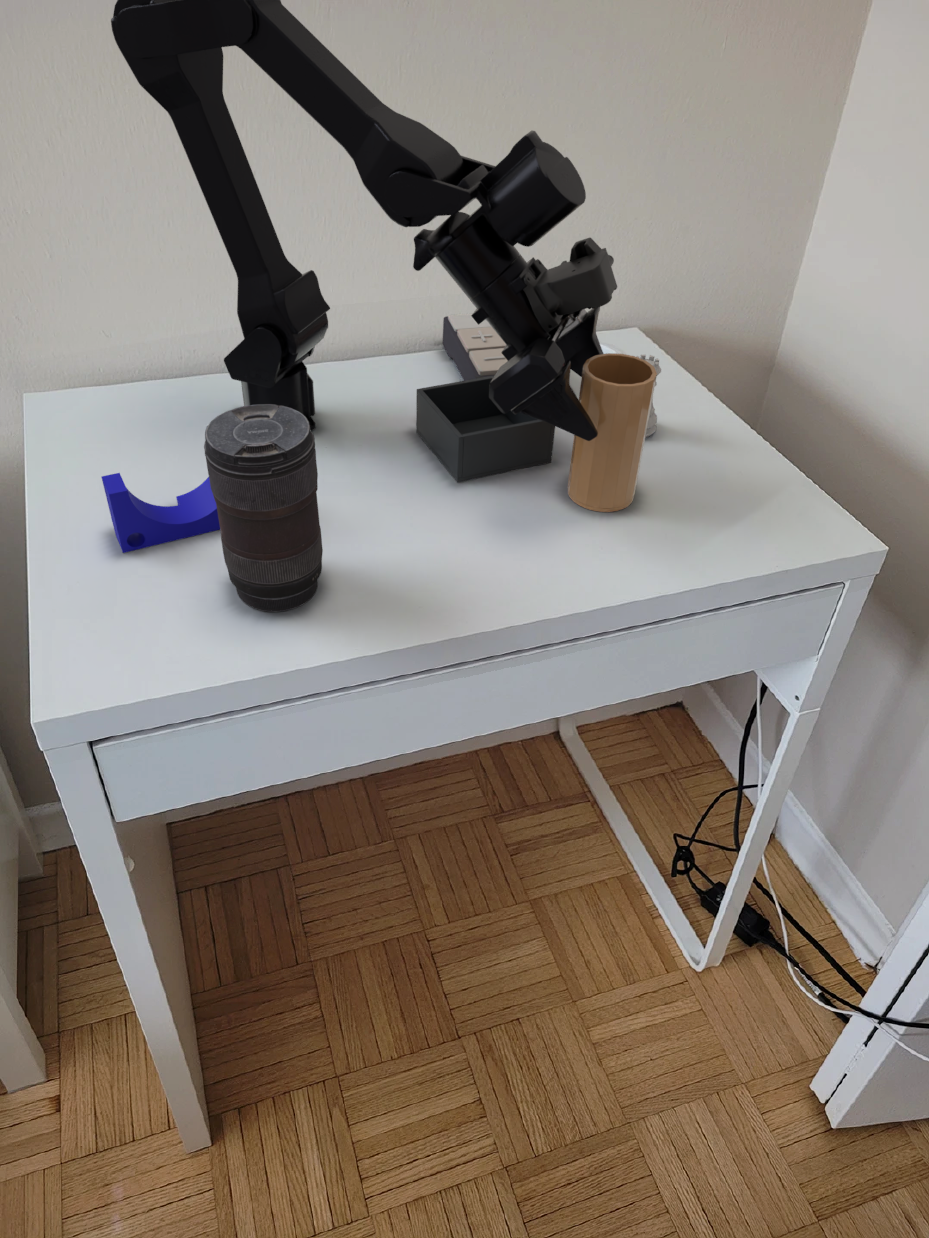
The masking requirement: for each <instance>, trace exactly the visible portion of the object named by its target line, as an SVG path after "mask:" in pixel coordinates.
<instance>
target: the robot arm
mask: <svg viewBox="0 0 929 1238" xmlns="http://www.w3.org/2000/svg"><path fill="white" fill-rule="evenodd" d="M110 26H111V32H112V36H113V39H114V41H115V43H116V46H117V48H118V50H119V51H120V53H121V55H122V57H123V59H124V60H125V62H126V63H127V65H128V68H129V69H130V71H131V72H132V74H133V76H134V78H135V79H136V81H137V84H138V85H140V87H141V88H142V89H143V90H144V91H146V93H148V95H149V96H151V97H152V99H153V100H155V101H156V102H157V104H159V105H160V107H162V108H163V109H164V110H165V111H166V112H167V114H168V116H169V117H170V119H171V121H172V123H173V126H174V128H175V130H176V133H177V136H178V138H179V140H180V143H181V145H182V148H183V150H184V152H185V154H186V157H187V159H188V162H189V164H190V166H191V169H192V171H193V174H194V175H195V178H196V181H197V184H198V186H199V188H200V190H201V193H202V195H203V199H204V200H205V202H206V206H207V207H208V210H209V212H210V214H211V217H212V219H213V221H214V224H215V227H216V229H217V231H218V233H219V236H220V238H221V241H222V243H223V246H224V248H225V250H226V252H227V255H228V257H229V260H230V262H231V265H232V267H233V270H234V272H235V275H236V278H237V299H236V300H237V302H236V315H237V318H238V322H239V325H240V330H241V332H242V336H243V340H241V342H239V343H238V344H237V345H236V347H234V348H232V350H231V351H229V353H228V354H227V355H226V356H225V357H224V358H223V363H224V365H225V367H226V369H227V371H228V374H229V376H230V378H231V380H234V381H239V382H240V386H241V392H242V401H243V406H249V405H258V404H275V405H278V406H285V407H289V408H292V409H294V410H296V411H299V412H300V413H302V414H303V415H304V416H305V417H306V418H307V420H308V422H309V424H310V429H311V431H313V430H316V429H317V423H316V422H315V419H313V417H314V416H315V415H316V406H315V391H314V380H313V379H312V377H311V376H310V375H309V373H308V368H307V366H306V364H305V363H304V362H303V361H305V360H306V359H307V358H308V357H311V356H312V355H313V354H314V351H315V347H316V346H317V345H318V344H319V343H321V341H322V340H323V339H324V338H325V336H326V333H327V331H328V329H329V319H328V314H327V313H328V312H329V311H330V310H331V307H330V305H329V304H328V303H327V301H326V300H325V298H324V296H323V293H322V291H321V288H320V283H319V279H318V276H317V274H316V273H315V271H314V270H312V269H309V270H308V271H306V272H304V273H301V271H299V270H298V269H297V267H296V266H294V265H293V263H291V262H290V261H289V259H288V258H287V257H286V254H285V252H284V250H283V247H282V245H281V242H280V240H279V237H278V235H277V232H276V230H275V227H274V224H273V222H272V219H271V217H270V213H269V211H268V209H267V205H266V204H265V201H264V198H263V196H262V193H261V191H260V188H259V186H258V183H257V181H256V178H255V174H254V173H253V170H252V168H251V165H250V162H249V160H248V157H247V155H246V152H245V149H244V147H243V144H242V142H241V140H240V137H239V134H238V131H237V128H236V125H235V123H234V121H233V118H232V116H231V113H230V110H229V108H228V105H227V103H226V101H225V96H224V91H223V90H224V52H223V48H226V47H227V48H228V47H237V48H239V49H240V50H241V51H242V52H243V53H244V54H245V55H247V56H248V57H249V58H250V59H251V60H252V61H253V62H254V63H255V64H256V65H257V67H259V68H260V69H261V70H262V71H263V72H264V73H265V74H266V75H267V76H269V78H270V79H271V80H273V82H275V84H277V85H278V86H279V87H280V88H281V89H282V90H283V91H284V92H285V93H286V94H287V95H288V96H289V97H290V98H291V99H292V100H293V101H294V102H295V103H296V104H297V105H299V106H300V107H301V108H302V109H303V110H304V112H306V113H307V114H308V115H309V116H310V117H311V118H312V119H313V120H314V121H315V122H316V123H317V124H318V125H319V126H321V128H322V129H323V130H324V131H326V133H328V134H329V136H331V138H333V139H334V140H335V141H336V142H337V143H338V144H339V145H340V146H341V147H342V148H343V149H344V151H346V153H347V154H348V155H349V157H350V158H351V160H352V161H353V163H354V165H355V169H356V170H357V173H358V175H359V177H360V180H361V182H362V185H363V187H365V189H366V190H367V191H368V193H369V194H370V195H371V197H372V198H373V199H374V201H376V203H377V204H378V205H379V207H380V208H381V209H382V211H383V212H384V213H385V214H386V216H387V217H388V218H389V219H390V220H391V221H392V222H394V223H395V224H397V225H399V226H401V227H404V228H413V227H414V228H415V227H416V228H419V227H423V226H424V225H427V224H430V223H431V222H432V221H433V220H435V219H436V218H437V217H443V216H448V217H447V218H446V219H445V220H444V221H443V222H442V223H441V224H440V225H438V227H436V229H433V230H432V229H427V228H422V229H421V230H420V231H419V232H418V233H417V234H416V235H415V236H414V237H413V243H414V255H413V264H412V265H413V266H412V267H413V270H414V271H416V272H419V271H421V270H423V268H425V267H426V266H427V265H428V264H429V263H430V262H431V261H433V259H436V260H437V261H438V263H439V264H440V265H441V266H442V267H443V269H444V270H445V271H446V272H447V274H448V275H449V277H451V279H452V280H453V281H454V282H455V283H456V284H457V286H458V287H459V288H460V290H461V291H462V292H463V294H464V295H466V297H467V298H468V300H469V301H470V302H471V303H472V304H473V306H474V307H475V308H476V309H475V310H474V311H473V312H472V313H473V314H472V315H471V316H472V318H473V319H474V320H475V321H476V322H477V324H478V325H479V324H480V323H481V322H483V321H484V320H485V319H486V320H487V322H488V323H489V324H490V325H491V327H492V328H493V329H494V330H495V331H496V333H497V334H498V335H499V336H500V338H501V339H502V340H503V341H504V342H505V344H506V346H505V348H504V349H503V351H502V352H501V353H502V354H503V355H504V357H505V358H506V359H507V360H508V361H507V362H506V363H505V364H503V365H502V366H501V367H500V368H499V370H498V371H497V373H496V374H495V376H494V377H493V379H492V380H491V382H490V386H489V398H490V399H491V401H492V402H493V403H494V404H495V405H496V406H497V408H498V409H499V410H500V411H501V412H502V414H506V413H507V412H509V411H510V410H511V412H512V413H513V414H515V415H516V414H518V413H519V412H520V413H522V414H525V415H528V416H531V417H533V418H536V419H539V420H541V421H544V422H547V423H549V424H551V425H554V426H555V428H558V429H560V430H563V431H565V432H567V433H569V434H572V435H573V436H574V435H576V436H578V437H580V438H582V439H585V440H587V441H591V440H592V439H594V438H595V437H597V435H598V431H597V430H596V428H595V426H594V424H593V422H592V420H591V419H590V417H589V416H588V414H587V412H586V411H585V409H584V408H583V406H582V404H581V403H580V401H579V397H578V396H577V395H576V393H575V391H574V390H573V388H572V387H571V385H570V384H571V383H570V378H571V371H572V372H573V373H575V374H576V375H578V376H579V377H580V378H582V371H583V365H584V363H585V362H586V360H587V359H589V358H591V357H593V356H596V355H601V354H604V351H603V349H602V346H601V344H600V341H599V338H598V335H597V326H598V320H599V314H600V311H601V307H603V306H605V305H607V304H608V303H610V302H611V301H612V299H613V294H614V291H616V290H617V289H618V284H617V281H616V277H615V274H614V271H613V267H612V266H613V264H614V262H615V259H614V257H613V256H612V255H610V254H609V253H608V251H607V248H606V247H604V248H601V246H599V244H598V243H597V242H596V241H595V240H594V239H593V238H592V237H587V238H584V239H581V240H578V241H575V243H574V244H573V246H572V247H571V249H570V255H569V261H567V260H563V261H561V263H560V264H559V265H557V266H554V267H551V268H547V267H546V266H545V265H544V263H543V262H542V261H541V260H540V259H539V258H537V259H536V258H535V257H531V259H529V260H525V258H524V257H523V256H522V255H521V253H520V252H519V250H518V249H517V248H516V245H517V244H518V245H521V246H523V247H526V248H529V247H533V246H534V245H535V244H536V243H538V242H539V241H540V240H541V239H542V238H543V237H545V236H546V235H547V234H548V233H550V232H551V231H552V230H554V229H555V228H556V227H557V226H558V225H559V224H561V222H563V221H564V220H565V219H566V218H568V217H569V216H570V215H572V213H573V212H575V211H576V210H577V209H579V207H581V206H582V205H584V203H585V202H586V199H587V195H586V194H587V193H586V188H585V185H584V182H583V180H582V178H581V175H580V174H579V172H578V170H577V168H576V166H575V165H574V164H573V162H572V161H571V159H570V158H569V157H568V156H564V155H563V154H562V153H561V152H560V151H559V150H558V149H557V148H555V147H554V146H553V145H551V144H550V143H548V142H545V141H543V140H542V139H541V137H540V135H538V133H537V131H536V130H531V131H529V132H528V133H526V134H525V135H523V136H522V137H521V138H520V139H519V140H518V141H517V142H515V144H514V145H513V146H512V148H511V149H510V151H509V152H508V154H506V155H505V157H504V158H503V159H501V160H500V161H499V162H498V163H497V164H496V165H493V164H489V163H486V162H483V161H481V160H476V159H474V158H470V157H467V156H464V155H461V154H460V152H459V151H458V150H457V148H456V147H455V146H454V145H453V144H451V142H448V141H447V140H445V139H444V138H443V137H441V135H439V134H437V133H436V132H435V131H433V130H431V128H429V127H427V126H426V125H425V124H423V123H421V122H419V121H417V120H415V119H413V118H410V117H408V116H405V115H404V114H401V113H398V112H396V111H395V110H393V109H392V108H391V107H389V106H388V105H386V104H385V103H384V102H382V101H381V100H380V99H379V98H378V97H377V96H376V95H375V94H374V92H372V91H371V90H370V88H368V86H366V85H365V84H364V83H363V82H362V81H361V80H360V79H359V78H358V77H357V76H356V75H354V73H353V72H352V71H351V70H349V68H348V67H346V66H345V64H343V62H341V61H340V60H339V59H338V58H337V57H336V56H335V55H334V53H332V51H330V49H328V47H326V46H325V45H324V44H323V43H322V41H320V40H319V39H318V38H317V37H316V36H315V35H314V34H313V33H312V32H311V31H310V30H309V29H308V28H307V27H306V26H305V25H304V24H303V23H302V22H301V21H300V20H299V19H297V18H296V17H295V15H293V13H291V12H290V11H289V9H288V8H287V7H286V6H284V5H283V4H282V0H116V3H115V4H114V9H113V13H112V17H111V18H110ZM474 200H477V201H478V202H479V204H480V206H479V207H478V208H476V210H474V211H473V212H472V213H471V214H468V213H466V212H463V211H462V210H463V209H464V208H465V207H467V206H468V205H469V204H470V203H472V202H473V201H474ZM587 309H588V311H587ZM563 364H564V365H563Z"/></svg>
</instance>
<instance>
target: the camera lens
mask: <svg viewBox="0 0 929 1238" xmlns="http://www.w3.org/2000/svg"><path fill="white" fill-rule="evenodd" d="M203 449H204V450H203V451H204V456H205V460H206V468H207V474H208V477H209V480H210V486H211V490H212V493H213V496H214V499H215V502H216V506H217V512H218V519H219V525H220V530H219V531H220V541H221V546H222V554H223V559H224V563H225V566H226V569H227V572H228V576H229V580H230V582H231V583H232V585H233V586H234V587H235V590H236V593H237V596H238V597H239V599H240V600H241V601H242V603H244V604H245V605H247V606H248V607H250V608H252V609H255V610H258V611H263V612H271V613H273V612H275V613H276V612H285V611H291V610H294V609H297V608H299V607H301V606H303V605H305V604H307V603H308V602H309V601H310V600H311V599H312V598H313V597H314V596H315V594H316V592H317V590H318V586H319V583H318V582H319V579H320V576H321V574H322V571H323V552H324V550H323V538H322V529H321V525H320V515H319V514H320V513H319V504H318V495H317V492H318V487H319V486H318V485H319V484H318V476H319V473H318V465H317V451H316V442H315V436H314V433H313V432H312V430H311V429H310V424H309V422H308V420H307V418H306V417H305V416H304V415H303V414H302V413H300V412H299V411H296V410H294V409H292V408H289V407H285V406H278V405H275V404H258V405H249V406H244V405H243V406H239V407H235V408H232V409H230V410H227V411H224V412H222V413H220V414H219V415H217V416H216V417H214V418H213V419H212V420H211V421H210V422H209V423H208V425H207V426H206V428H205V432H204V444H203Z"/></svg>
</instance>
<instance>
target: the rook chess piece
mask: <svg viewBox="0 0 929 1238" xmlns="http://www.w3.org/2000/svg"><path fill="white" fill-rule="evenodd" d="M635 357H638V358H640V359H643V360H645V361H647V362H649V363H650V364H651V365H652V366H654V368H655V370H656V372H657V376H659V375H660V374H661V373H662V368H661V366H660V359H659V358H655V355H651V354H650V355H649V357H648V358H647V355H646V354H640V356H639V355H636V356H635ZM657 384H658V383H657V381H656V382H655V387H656V386H657ZM655 410H656V409H655V408H654V397H653V398H652V403H651V409H650V414H649V419H648V425H647V430H646V436H645V439H646V438H649V437H650V436H652V435H653V434H654V433H655V432H656V431H657V425H656V424H657V423H658V416H657V414H656V413H655Z"/></svg>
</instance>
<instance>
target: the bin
mask: <svg viewBox="0 0 929 1238" xmlns="http://www.w3.org/2000/svg"><path fill="white" fill-rule="evenodd" d="M494 376H495V375H494ZM494 376H489V377H483V378H477V379H471V380H466V381H464V380H461V381H455V382H450V383H444V384H438V385H432V386H426V387H421V388H416V403H415V404H416V408H415V410H416V411H415V412H416V415H415V416H416V418H415V419H416V420H415V422H416V424H415V427H416V429H415V432H416V434H417V435H418V437H419V438H420V439H421V440H422V441H423V442H424V444H425V445H426V446H427V447H428V449H429V450H430V451H431V453H432V454H433V455H434V456H435V458H436V459H437V460H438V461H439V462H440V464H441V465H442V466H443V467H444V469H445V470H446V471H447V472H448V474H449V475H450V476H451V477H452V478H453V479H454V481H455V482H456V483H463V482H467V481H471V480H476V479H481V478H486V477H490V476H495V475H500V474H504V473H505V474H506V473H508V472H510V473H511V472H513V471H518V470H523V469H528V468H532V467H537V466H542V465H547V464H551V463H552V458H553V451H554V450H553V449H554V441H555V433H556V432H555V431H556V426H554V425H551V424H549V423H547V422H544V421H541V420H539V419H536V418H533V417H531V416H528V415H525V414H522V413H520V412H519V413H518V414H516V415H515V414H513V413H512V412H511V410H510V411H509V412H507V413H506V414H502V412H501V411H500V410H499V409H498V408H497V406H496V405H495V404H494V403H493V402H492V401H491V399H490V398H489V386H490V382H491V380H492V379H493V377H494Z"/></svg>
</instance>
